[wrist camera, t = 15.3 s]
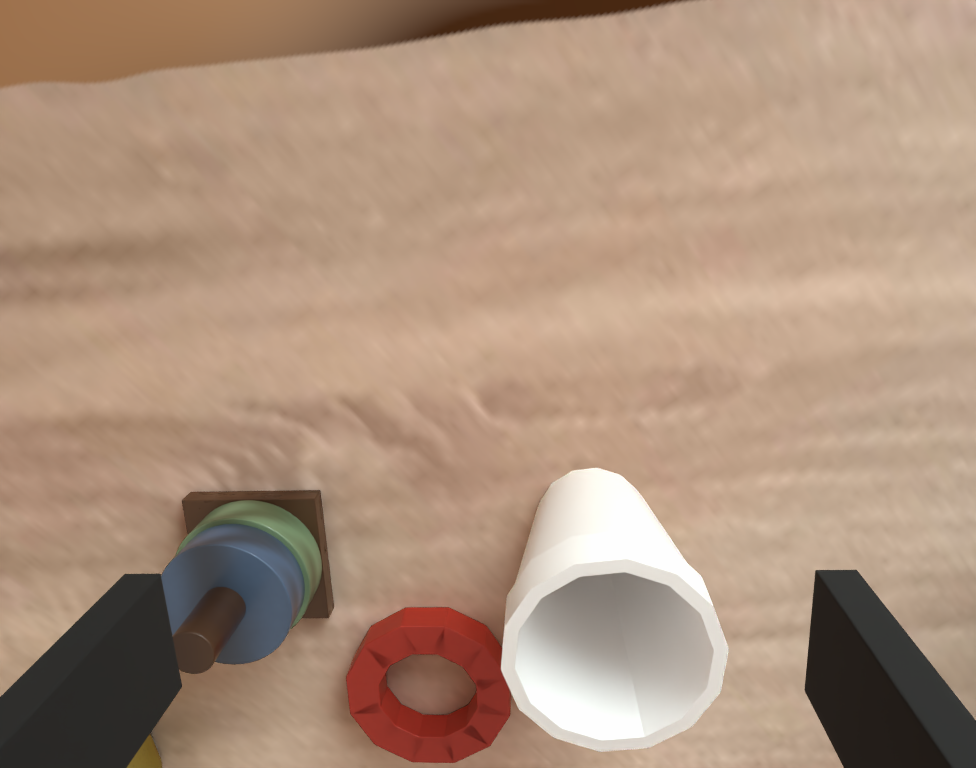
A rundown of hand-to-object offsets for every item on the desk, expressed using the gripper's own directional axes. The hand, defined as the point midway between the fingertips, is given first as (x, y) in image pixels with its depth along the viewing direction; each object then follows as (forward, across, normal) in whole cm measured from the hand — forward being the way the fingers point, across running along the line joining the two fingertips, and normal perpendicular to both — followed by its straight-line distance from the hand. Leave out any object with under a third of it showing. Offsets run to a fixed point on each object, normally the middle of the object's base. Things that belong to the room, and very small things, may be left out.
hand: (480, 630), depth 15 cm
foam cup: (+27, -4, +11) cm, 29 cm away
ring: (+27, +6, +22) cm, 35 cm away
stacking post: (+27, +16, +13) cm, 34 cm away
